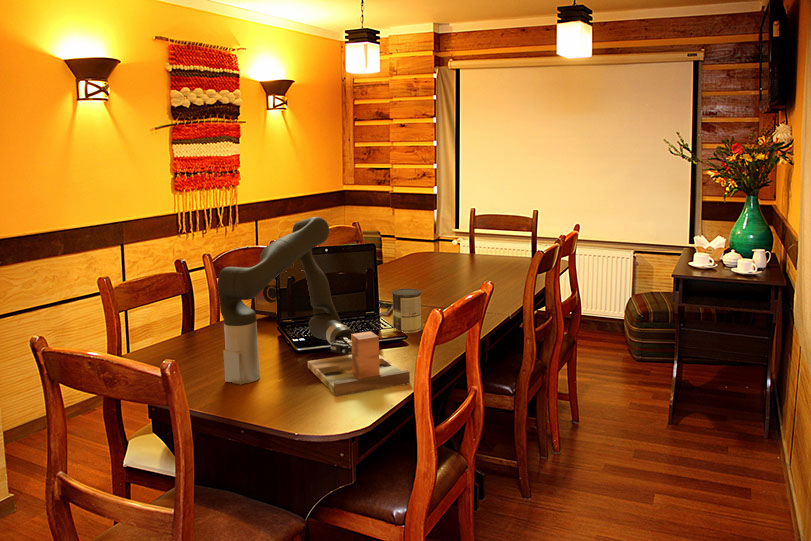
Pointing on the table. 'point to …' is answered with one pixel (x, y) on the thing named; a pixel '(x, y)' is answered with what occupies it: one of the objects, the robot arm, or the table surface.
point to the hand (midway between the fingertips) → (360, 352)
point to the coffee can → (407, 310)
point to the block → (365, 354)
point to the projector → (266, 301)
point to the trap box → (344, 382)
